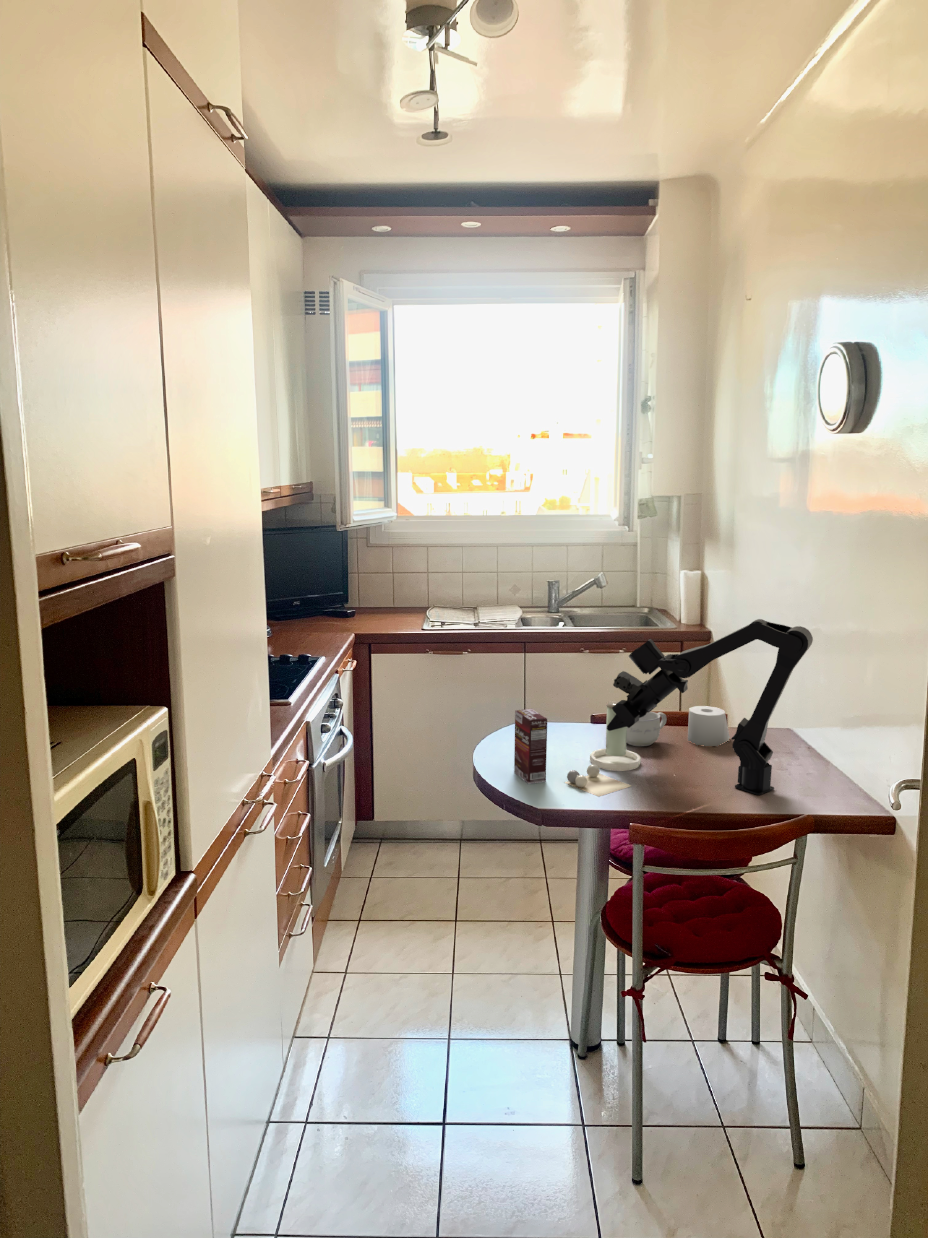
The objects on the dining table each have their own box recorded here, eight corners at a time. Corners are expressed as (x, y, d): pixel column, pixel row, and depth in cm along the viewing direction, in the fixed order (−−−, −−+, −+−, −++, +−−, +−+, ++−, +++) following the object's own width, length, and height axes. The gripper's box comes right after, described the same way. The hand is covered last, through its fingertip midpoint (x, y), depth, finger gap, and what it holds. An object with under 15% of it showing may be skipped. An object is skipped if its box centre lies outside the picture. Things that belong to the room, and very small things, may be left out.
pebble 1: (582, 783, 204) (582, 771, 203) (573, 786, 202) (573, 773, 201) (573, 779, 206) (573, 767, 206) (564, 782, 204) (564, 770, 204)
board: (631, 787, 202) (632, 786, 202) (598, 798, 196) (598, 796, 196) (597, 774, 211) (597, 772, 211) (564, 784, 204) (564, 782, 204)
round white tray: (649, 765, 217) (650, 757, 217) (616, 775, 210) (616, 767, 210) (613, 752, 227) (613, 745, 226) (580, 762, 219) (580, 754, 219)
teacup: (629, 751, 228) (630, 721, 227) (611, 738, 239) (612, 710, 237) (677, 747, 232) (678, 717, 231) (657, 734, 242) (659, 706, 241)
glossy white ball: (601, 777, 208) (602, 765, 207) (593, 780, 206) (593, 768, 205) (592, 774, 210) (593, 762, 210) (583, 776, 208) (584, 764, 208)
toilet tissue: (736, 738, 239) (738, 708, 238) (710, 749, 230) (712, 717, 229) (707, 731, 246) (709, 701, 244) (680, 741, 237) (682, 710, 235)
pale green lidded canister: (629, 755, 216) (631, 706, 213) (608, 756, 215) (610, 707, 213) (622, 749, 221) (624, 700, 219) (602, 749, 220) (603, 701, 218)
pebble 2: (589, 787, 201) (590, 775, 201) (581, 790, 199) (581, 778, 199) (580, 784, 203) (581, 772, 203) (572, 786, 202) (572, 775, 201)
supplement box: (512, 773, 211) (514, 709, 208) (531, 771, 213) (532, 708, 210) (527, 786, 203) (529, 719, 200) (546, 783, 205) (548, 717, 202)
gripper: (646, 655, 220) (603, 693, 227) (621, 670, 204) (576, 710, 211) (676, 690, 218) (631, 726, 225) (653, 707, 201) (606, 746, 209)
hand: (611, 726), depth 217 cm, fingers closed on pale green lidded canister, 5 cm apart
